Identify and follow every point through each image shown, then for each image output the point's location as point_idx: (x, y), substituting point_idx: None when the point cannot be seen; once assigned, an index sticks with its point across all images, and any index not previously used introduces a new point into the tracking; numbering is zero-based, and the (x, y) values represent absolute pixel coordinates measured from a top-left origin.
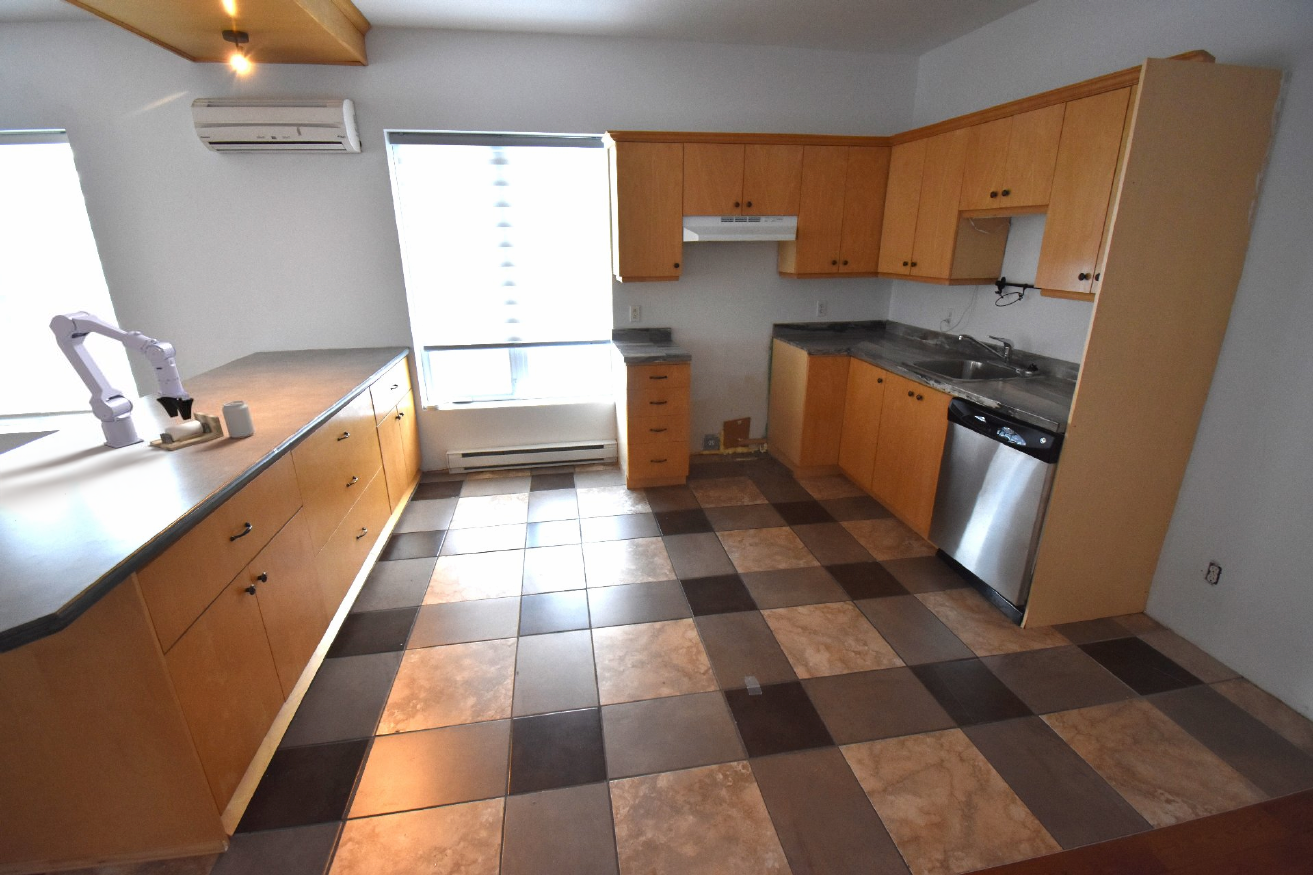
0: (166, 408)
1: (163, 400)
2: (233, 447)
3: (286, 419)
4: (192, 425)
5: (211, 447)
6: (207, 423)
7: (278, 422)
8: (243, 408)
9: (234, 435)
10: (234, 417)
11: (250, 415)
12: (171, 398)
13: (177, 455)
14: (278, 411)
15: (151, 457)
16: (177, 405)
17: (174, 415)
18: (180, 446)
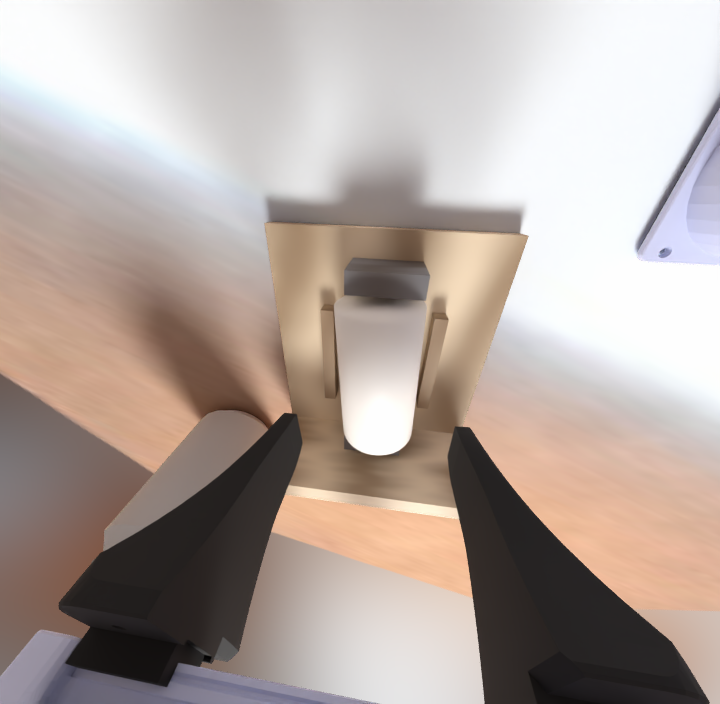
0: (485, 501)
1: (532, 640)
2: (116, 353)
3: (299, 526)
4: (346, 414)
5: (178, 326)
6: (359, 455)
7: (290, 511)
8: None
9: (208, 416)
10: (139, 490)
11: None
12: (500, 668)
13: (161, 191)
14: (394, 557)
15: (240, 79)
16: (139, 536)
17: (453, 452)
18: (274, 270)
